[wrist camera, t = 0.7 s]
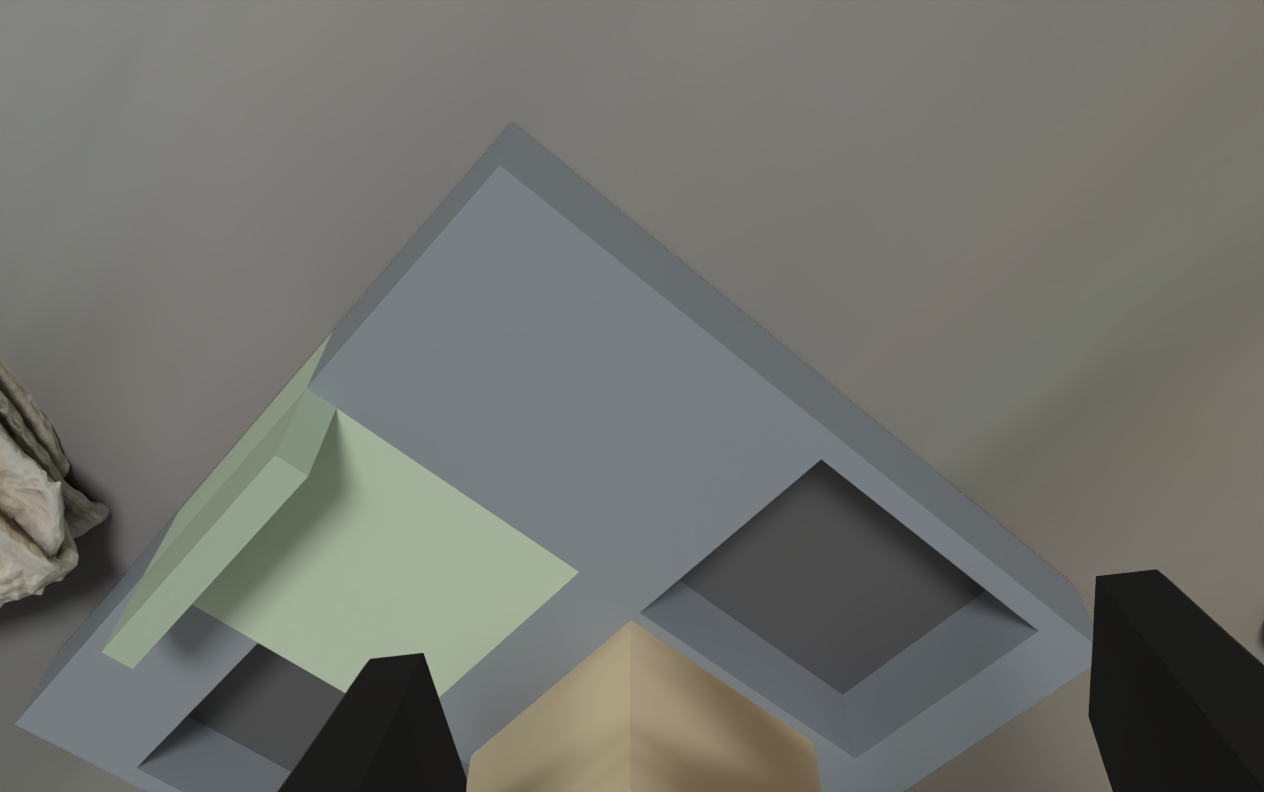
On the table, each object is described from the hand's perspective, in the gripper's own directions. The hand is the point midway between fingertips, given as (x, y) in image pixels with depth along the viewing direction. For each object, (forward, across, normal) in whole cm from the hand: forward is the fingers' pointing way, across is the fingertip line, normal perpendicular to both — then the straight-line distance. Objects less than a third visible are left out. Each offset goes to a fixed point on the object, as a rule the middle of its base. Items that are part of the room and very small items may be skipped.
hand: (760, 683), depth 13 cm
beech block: (+8, +3, +9) cm, 12 cm away
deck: (+10, +4, +7) cm, 13 cm away
